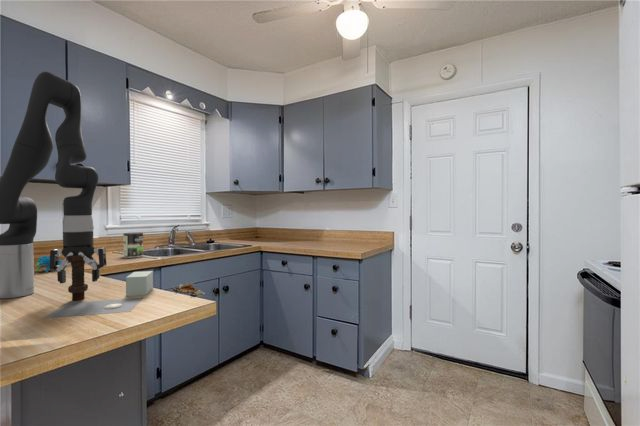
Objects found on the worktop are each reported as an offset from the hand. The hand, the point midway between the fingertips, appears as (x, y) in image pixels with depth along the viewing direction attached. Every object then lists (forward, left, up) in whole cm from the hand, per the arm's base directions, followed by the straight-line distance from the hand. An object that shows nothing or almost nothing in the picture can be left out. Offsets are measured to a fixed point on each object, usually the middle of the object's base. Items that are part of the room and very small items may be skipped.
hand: (79, 282), depth 98 cm
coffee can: (-11, +98, -7) cm, 98 cm away
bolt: (0, 0, -7) cm, 7 cm away
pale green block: (+16, +5, -6) cm, 18 cm away
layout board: (+9, -10, -6) cm, 15 cm away
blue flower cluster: (-36, +61, -7) cm, 70 cm away
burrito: (+32, +2, -7) cm, 32 cm away
